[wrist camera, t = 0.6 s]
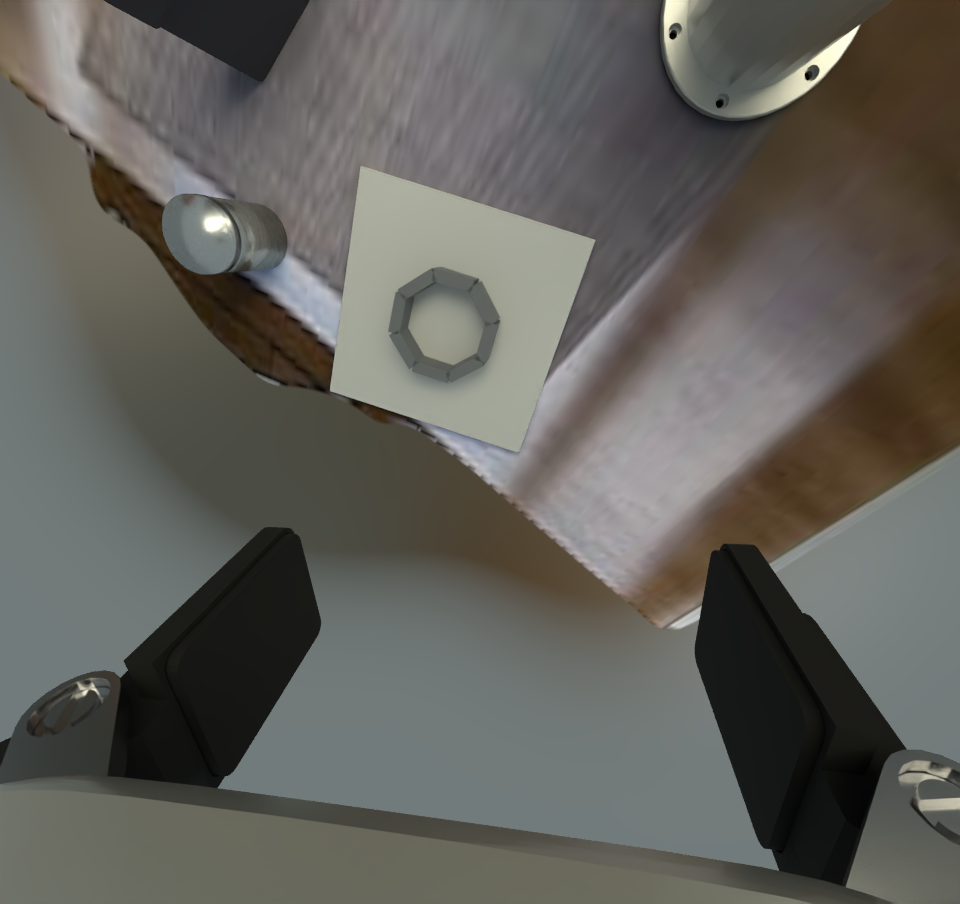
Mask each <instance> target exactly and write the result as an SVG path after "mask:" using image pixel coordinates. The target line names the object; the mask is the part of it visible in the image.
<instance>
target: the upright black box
mask: <svg viewBox="0 0 960 904" xmlns="http://www.w3.org/2000/svg"><path fill="white" fill-rule="evenodd" d="M104 1H106V2H107V3H109V4H111V5H113V6H114V7H116V8H118V9H120V10H122V11H124V12H126V13H127V14H129V15H131V16H133V17H135V18H137V19H138V20H140V21H142V22H144V23H146V24H148V25H150V26H152V27H153V28H155V29H158V28H160V27H161V28H163V29H165V30H167V31H169V32H170V33H172V34H174V35H176V36H178V37H179V38H181V39H183V40H185V41H187V42H189V43H190V44H192V45H194V46H196V47H198V48H199V49H201V50H203V51H205V52H207V53H208V54H210V55H212V56H214V57H216V58H218V59H219V60H221V61H223V62H225V63H227V64H228V65H230V66H232V67H234V68H236V69H238V70H239V71H241V72H243V73H245V74H247V75H248V76H250V77H252V78H254V79H256V80H258V81H262V80H264V78H265V77H266V75H267V73H268V72H269V70H270V68H271V66H272V65H273V63H274V61H275V59H276V58H277V56H278V54H279V52H280V51H281V49H282V47H283V45H284V43H285V42H286V40H287V38H288V36H289V35H290V33H291V31H292V29H293V28H294V26H295V24H296V22H297V21H298V19H299V17H300V15H301V14H302V12H303V10H304V8H305V7H306V5H307V3H308V1H309V0H104Z"/></svg>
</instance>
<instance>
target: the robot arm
mask: <svg viewBox="0 0 960 904" xmlns="http://www.w3.org/2000/svg"><path fill="white" fill-rule="evenodd" d="M892 1H893V0H663V3H662V8H661V13H660V34H659V36H660V45H661V53H662V59H663V62H664V65H665V69H666V72H667V75H668V77H669V79H670V81H671V82H672V84H673V86H674V88H675V90H676V91H677V93H678V94H679V95H680V96H681V97H682V98H683V99H684V101H685V102H686V103H687V104H688V105H690V106H691V107H693V108H694V109H696V110H697V111H698V112H700V113H701V114H704V115H707V116H709V117H712V118H715V119H718V120H727V121H743V120H752V119H756V118H759V117H762V116H766V115H769V114H771V113H773V112H775V111H777V110H779V109H781V108H783V107H785V106H787V105H789V104H791V103H792V102H794V101H795V100H797V99H798V98H800V97H801V96H803V95H805V94H806V93H807V92H808V91H809V90H811V89H812V88H813V87H814V86H816V85H817V84H818V83H819V82H820V81H821V80H822V79H823V78H824V77H825V76H826V75H827V74H828V73H829V72H830V70H831V69H832V68H833V67H834V66H835V65H836V64H837V63H838V62H839V60H840V59H841V57H842V56H843V54H844V53H845V51H846V50H847V48H848V47H849V46H850V44H851V43H852V41H853V40H854V38H855V36H856V34H857V32H858V30H859V28H860V26H861V24H862V23H863V22H864V21H866V20H867V19H868V18H870V17H871V16H872V15H874V14H875V13H877V12H878V11H879V10H881V9H882V8H883V7H885V6H886V5H887V4H889V3H890V2H892ZM670 33H675V35H676V38H675V39H674V40H672V39H670V38H669V34H670ZM805 73H807V74H809V79H808V81H807V80H806V79H805V76H804V75H805ZM717 101H721V102H722V107H721V108H717V107H716V102H717ZM320 627H321V619H320V615H319V610H318V607H317V603H316V599H315V595H314V591H313V587H312V583H311V579H310V575H309V571H308V567H307V563H306V560H305V556H304V552H303V548H302V544H301V540H300V537H299V536H298V535H296V534H294V532H293V531H292V529H290V528H277V527H266V528H264V529H262V530H261V531H260V532H259V533H258V534H257V535H256V536H255V537H254V538H253V539H251V540H250V541H249V542H248V543H247V544H246V545H245V546H244V547H243V548H242V549H241V550H240V551H239V552H238V553H237V554H236V555H235V556H234V557H233V558H232V559H230V560H229V561H228V562H227V563H226V564H225V565H224V566H223V567H222V568H221V569H220V570H219V571H218V572H217V573H216V574H215V575H214V576H213V577H211V578H210V579H209V580H208V581H207V582H206V583H205V584H204V585H203V586H202V587H201V588H200V589H199V590H198V591H197V592H196V593H195V594H194V595H193V596H191V597H190V598H189V599H188V600H187V601H186V602H185V603H184V604H183V605H182V606H181V607H180V608H179V609H178V610H177V611H176V612H175V613H173V614H172V615H171V616H170V617H169V618H168V619H167V620H166V621H165V622H164V623H163V624H162V625H161V626H160V627H159V628H158V629H157V630H156V631H154V633H152V634H151V635H150V636H149V637H148V638H147V639H146V640H145V641H144V642H143V643H142V644H141V645H140V646H139V647H138V648H137V649H135V650H134V651H133V652H132V653H131V654H130V655H129V656H128V657H127V658H126V659H125V660H124V663H125V665H126V667H127V669H128V671H127V672H126V673H125V674H124V675H123V676H122V677H121V678H120V677H119V676H118V675H116V674H115V673H114V672H110V671H105V670H104V671H95V672H90V673H86V674H83V675H80V676H77V677H75V678H73V679H70V680H68V681H66V682H64V683H62V684H60V685H59V686H57V687H56V688H54V689H52V690H51V691H49V692H47V693H46V694H45V695H43V696H42V697H41V698H40V699H38V700H37V701H36V702H35V703H33V704H32V705H31V706H30V708H29V709H28V710H27V711H26V712H25V713H24V714H23V715H22V716H21V718H20V720H19V721H18V723H17V725H16V727H15V729H14V732H13V734H12V737H11V738H9V739H6V740H4V741H2V742H0V904H960V763H957V762H955V761H953V760H951V759H948V758H946V757H944V756H942V755H938V754H934V753H930V752H926V751H923V750H907V749H906V748H905V746H904V745H903V744H902V742H901V741H900V739H899V738H898V737H897V735H896V734H895V732H894V731H893V729H892V728H891V727H890V725H889V724H888V722H887V721H886V720H885V718H884V717H883V716H882V714H881V713H880V711H879V710H878V708H877V707H876V705H875V704H874V703H873V702H872V700H871V699H870V697H869V696H868V694H867V693H866V691H865V690H864V689H863V687H862V686H861V684H860V683H859V682H858V680H857V679H856V677H855V676H854V675H853V673H852V672H851V670H850V669H849V668H848V666H847V665H846V663H845V662H844V660H843V659H842V658H841V656H840V655H839V653H838V652H837V651H836V649H835V648H834V646H833V645H832V644H831V642H830V641H829V639H828V638H827V637H826V635H825V634H824V633H823V631H822V630H821V628H820V627H819V626H818V624H817V623H816V621H815V620H814V619H813V618H812V617H811V616H809V615H807V614H805V613H802V612H801V610H800V609H799V607H798V606H797V604H796V603H795V602H794V600H793V599H792V597H791V596H790V594H789V593H788V591H787V590H786V589H785V587H784V586H783V584H782V583H781V581H780V580H779V579H778V577H777V576H776V574H775V573H774V571H773V570H772V568H771V567H770V565H769V564H768V562H767V561H766V560H765V558H764V557H763V555H762V554H761V552H760V551H759V549H758V548H757V547H756V546H755V545H746V544H723V545H722V546H721V548H720V551H718V550H714V551H713V552H712V553H711V557H710V563H709V568H708V574H707V580H706V585H705V591H704V597H703V603H702V608H701V614H700V620H699V625H698V631H697V637H696V642H695V658H696V663H697V666H698V669H699V672H700V675H701V678H702V681H703V683H704V686H705V689H706V692H707V695H708V698H709V701H710V704H711V707H712V709H713V712H714V715H715V718H716V721H717V724H718V727H719V730H720V732H721V735H722V738H723V741H724V744H725V747H726V750H727V753H728V755H729V758H730V761H731V764H732V767H733V770H734V773H735V775H736V778H737V781H738V784H739V787H740V790H741V793H742V796H743V798H744V801H745V804H746V807H747V810H748V813H749V816H750V819H751V822H752V824H753V827H754V830H755V833H756V836H757V838H758V841H759V842H760V844H761V846H762V847H763V848H765V849H772V852H773V855H774V857H775V860H776V863H777V866H778V868H779V871H777V870H772V869H767V868H763V867H757V866H751V865H745V864H739V863H733V862H727V861H721V860H714V859H709V858H702V857H696V856H690V855H683V854H678V853H672V852H665V851H660V850H653V849H647V848H640V847H634V846H627V845H619V844H613V843H606V842H599V841H591V840H585V839H578V838H571V837H564V836H557V835H551V834H544V833H537V832H529V831H523V830H516V829H510V828H503V827H495V826H489V825H482V824H475V823H467V822H460V821H453V820H445V819H439V818H431V817H424V816H417V815H410V814H403V813H396V812H388V811H381V810H374V809H366V808H360V807H352V806H345V805H338V804H331V803H324V802H316V801H309V800H308V801H307V800H301V799H294V798H286V797H278V796H271V795H263V794H255V793H248V792H241V791H233V790H225V789H218V786H219V785H220V783H221V782H222V780H223V778H224V777H225V776H228V775H230V774H231V773H232V772H233V771H234V770H235V768H236V767H237V766H238V764H239V762H240V761H241V759H242V757H243V756H244V754H245V753H246V751H247V749H248V748H249V746H250V744H251V743H252V741H253V740H254V738H255V736H256V735H257V733H258V732H259V730H260V728H261V727H262V725H263V723H264V722H265V720H266V719H267V717H268V715H269V714H270V712H271V710H272V709H273V707H274V706H275V704H276V702H277V701H278V699H279V698H280V696H281V694H282V693H283V691H284V689H285V688H286V686H287V685H288V683H289V681H290V680H291V678H292V676H293V675H294V673H295V672H296V670H297V668H298V667H299V665H300V663H301V662H302V660H303V659H304V657H305V655H306V653H307V652H308V650H309V649H310V647H311V646H312V644H313V642H314V641H315V639H316V638H317V636H318V634H319V631H320Z"/></svg>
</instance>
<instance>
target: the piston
mask: <svg viewBox="0 0 960 904" xmlns="http://www.w3.org/2000/svg"><path fill="white" fill-rule="evenodd" d="M162 230H163V235H164V238H165V241H166V244H167V246H168V248H169V250H170V251H171V253H172V254H173V256H174V257H175V258H176V259H177V260H178V261H179V263H181V264H182V265H183V266H184V267H186V268H187V269H189V270H191V271H193V272H195V273H199V274H210V275H212V274H222V273H230V272H242V271H254V270H267V269H272V268H274V267H276V266H278V265H279V264H280V263H281V262H282V260H283V259H284V257H285V254H286V251H287V236H286V232H285V229H284V226H283V224H282V222H281V221H280V219H279V218H278V216H277V215H276V214H275V213H274V212H273V211H272V210H270V209H269V208H267V207H266V206H264V205H261V204H257V203H250V202H243V201H236V200H229V199H222V198H215V197H209V196H205V195H199V194H181V195H178V196H176V197H174V198H172V199H171V200H170V201H169V202H168V204H167V205H166V207H165V209H164V212H163V217H162Z"/></svg>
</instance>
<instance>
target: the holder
mask: <svg viewBox="0 0 960 904" xmlns="http://www.w3.org/2000/svg"><path fill="white" fill-rule="evenodd" d="M594 243H595V240H594V239H591V238H588V237H585V236H581V235H578V234H575V233H572V232H569V231H566V230H563V229H559V228H556V227H553V226H550V225H547V224H544V223H540V222H537V221H534V220H531V219H528V218H525V217H521V216H518V215H515V214H512V213H509V212H506V211H502V210H499V209H496V208H493V207H490V206H487V205H483V204H480V203H477V202H474V201H471V200H468V199H464V198H461V197H458V196H455V195H452V194H449V193H446V192H442V191H439V190H436V189H433V188H430V187H427V186H423V185H420V184H417V183H414V182H411V181H408V180H404V179H401V178H398V177H395V176H392V175H389V174H385V173H382V172H379V171H376V170H373V169H370V168H366V167H363V166H361V168H360V175H359V182H358V190H357V197H356V204H355V212H354V219H353V226H352V233H351V241H350V248H349V255H348V262H347V270H346V277H345V284H344V291H343V299H342V306H341V313H340V320H339V328H338V335H337V342H336V349H335V357H334V364H333V371H332V378H331V386H330V391H332V392H335V393H338V394H341V395H344V396H347V397H350V398H353V399H356V400H359V401H362V402H365V403H368V404H371V405H374V406H377V407H380V408H383V409H386V410H389V411H392V412H395V413H399V414H402V415H405V416H408V417H411V418H414V419H417V420H420V421H423V422H426V423H429V424H432V425H435V426H438V427H441V428H444V429H447V430H450V431H453V432H456V433H459V434H463V435H466V436H469V437H472V438H475V439H478V440H481V441H484V442H487V443H490V444H493V445H496V446H499V447H502V448H505V449H508V450H511V451H514V452H517V453H519V451H520V448H521V445H522V442H523V440H524V437H525V434H526V431H527V429H528V426H529V423H530V420H531V417H532V415H533V412H534V409H535V406H536V404H537V401H538V398H539V395H540V393H541V390H542V387H543V384H544V381H545V379H546V376H547V373H548V370H549V368H550V365H551V362H552V359H553V357H554V354H555V351H556V348H557V346H558V343H559V340H560V337H561V334H562V332H563V329H564V326H565V323H566V321H567V318H568V315H569V312H570V310H571V307H572V304H573V301H574V298H575V296H576V293H577V290H578V287H579V285H580V282H581V279H582V276H583V274H584V271H585V268H586V265H587V262H588V260H589V257H590V254H591V251H592V249H593V246H594Z"/></svg>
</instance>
